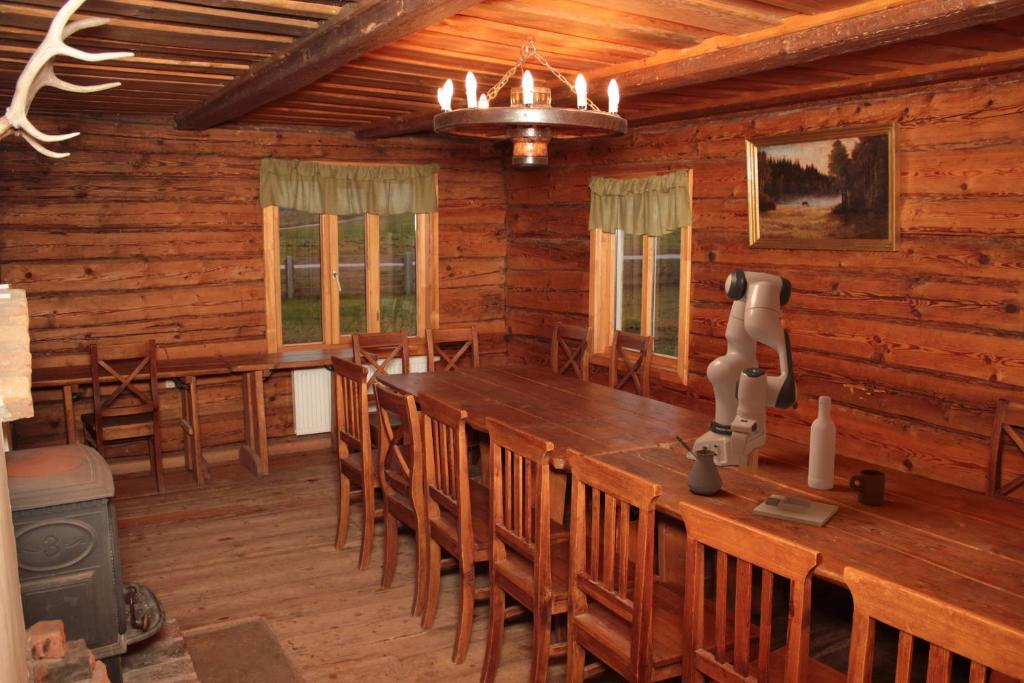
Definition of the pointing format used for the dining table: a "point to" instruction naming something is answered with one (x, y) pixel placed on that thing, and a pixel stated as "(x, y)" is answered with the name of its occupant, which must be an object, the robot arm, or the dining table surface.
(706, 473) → the coffee pot
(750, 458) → the orange rectangular block
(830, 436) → the bottle
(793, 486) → the dining table surface
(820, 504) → the mount deck
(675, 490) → the dining table surface
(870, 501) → the mug
